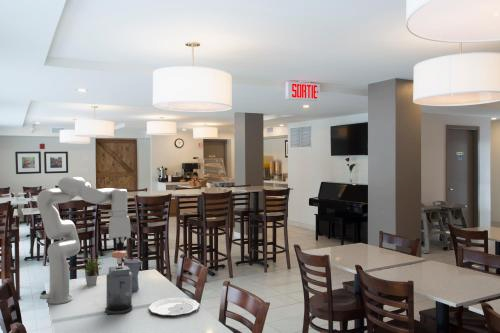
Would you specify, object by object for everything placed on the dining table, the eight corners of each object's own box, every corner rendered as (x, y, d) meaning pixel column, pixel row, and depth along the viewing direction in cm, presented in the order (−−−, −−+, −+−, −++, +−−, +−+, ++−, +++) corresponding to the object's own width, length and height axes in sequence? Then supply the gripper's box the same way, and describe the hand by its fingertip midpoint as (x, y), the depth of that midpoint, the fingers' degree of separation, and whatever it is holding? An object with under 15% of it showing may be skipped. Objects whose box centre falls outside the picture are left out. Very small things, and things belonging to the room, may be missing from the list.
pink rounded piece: (113, 266, 204) (113, 254, 204) (110, 262, 210) (110, 251, 210) (128, 264, 207) (128, 252, 207) (124, 261, 213) (124, 250, 213)
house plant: (98, 289, 242) (98, 261, 241) (74, 289, 242) (74, 261, 241) (107, 282, 256) (107, 255, 256) (84, 282, 256) (85, 255, 256)
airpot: (109, 319, 197) (109, 274, 197) (102, 306, 213) (102, 265, 213) (137, 314, 203) (137, 271, 203) (128, 302, 220) (128, 262, 219)
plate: (156, 322, 194) (156, 318, 194) (143, 305, 217) (143, 301, 217) (206, 313, 206) (206, 309, 206) (189, 298, 228) (189, 294, 228)
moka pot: (138, 294, 234) (138, 258, 233) (113, 292, 237) (113, 257, 237) (146, 289, 243) (146, 254, 243) (121, 287, 246) (122, 253, 246)
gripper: (105, 215, 201) (105, 253, 201) (136, 213, 208) (136, 250, 209) (102, 213, 208) (102, 250, 208) (132, 212, 215) (132, 247, 215)
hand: (119, 250), depth 208 cm, fingers closed
